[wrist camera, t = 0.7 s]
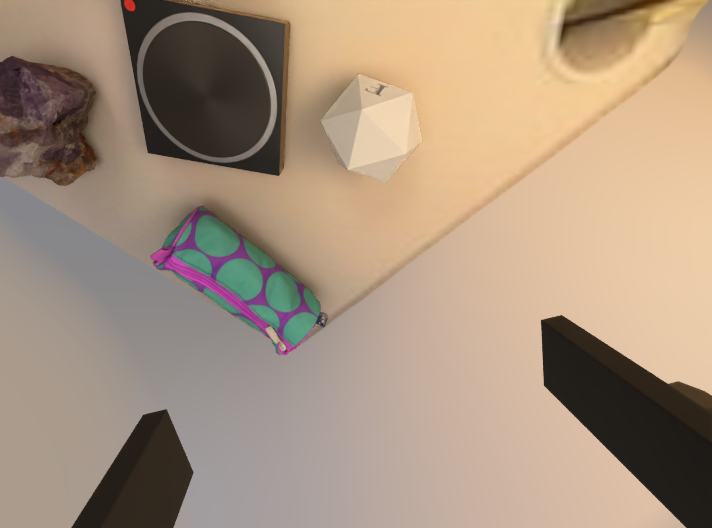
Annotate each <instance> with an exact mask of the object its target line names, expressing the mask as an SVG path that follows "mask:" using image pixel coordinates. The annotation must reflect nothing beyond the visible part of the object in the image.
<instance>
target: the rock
mask: <svg viewBox="0 0 712 528" xmlns="http://www.w3.org/2000/svg"><path fill="white" fill-rule="evenodd" d="M94 95H95V90H94V87H93V85H92V84H91V83H90V82H89V81H88V80H87V79H86V78H85V77H83V76H82V75H80V74H78V73H76V72H73V71H71V70H69V69H66V68H58V67H55V66H51V65H44V64H37V63H32V62H28V61H25V60H23V59H19V58H16V57H13V56H11V57H9V58H7V59H5V60H4V61H3V62H0V177H5V176H9V177H13V178H15V177H19V176H30V175H32V176H34V177H38V178H47V179H51V180H53V181H54V182H55V183H56V184H57V185H62V186H67V185H69V184H71V183H73V182H74V181H75V180H76V179H77V178H78V177H80V176H81V175H82V174H83V173H85V172H86V171H90V170H93V169H94V167H95V166H96V159H97V158H96V156H95V155H94V153H93V150H92V148H91V147H90V146H89V145H88V144H87V143H86V142H85V138H84V137H83V135H82V134H81V133H80V132H81V131H82V130H83V129H84V128H85V126H86V125H87V123H88V117H87V115H86V114H87V113H88V111H89V109H91V108H92V105H93V97H94Z"/></svg>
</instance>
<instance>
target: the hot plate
mask: <svg viewBox="0 0 712 528" xmlns="http://www.w3.org/2000/svg"><path fill="white" fill-rule="evenodd" d="M121 6H122V11H123V17H124V23H125V28H126V34H127V39H128V45H129V50H130V56H131V61H132V67H133V73H134V78H135V84H136V89H137V95H138V100H139V106H140V111H141V117H142V123H143V128H144V134H145V139H146V145H147V150H148V153H151V154H157V155H162V156H168V157H174V158H180V159H185V160H191V161H197V162H203V163H208V164H214V165H220V166H226V167H231V168H237V169H243V170H248V171H254V172H260V173H266V174H271V175H277V176H279V175H280V173H281V171H282V170H283V167H284V145H285V123H286V101H287V79H288V57H289V35H290V22H287V21H282V20H277V19H272V18H267V17H261V16H256V15H251V14H246V13H241V12H236V11H231V10H225V9H220V8H215V7H210V6H205V5H200V4H195V3H190V2H184V1H179V0H121Z"/></svg>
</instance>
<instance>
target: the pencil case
mask: <svg viewBox="0 0 712 528" xmlns="http://www.w3.org/2000/svg"><path fill="white" fill-rule="evenodd" d="M150 258H151V259H152V260H155V261H154V262H153V265H154V266H156V268H157V269H159V270H168V271H172V272H173V273H174V274H175V275H176V276H177V277H178V278H180V279H181V280H183V281H184V282H186V283H188V284H189V285H190V286H192V287H193V288H194V289H196V290H198V291H200V292H202V293H204V294H205V295H207V296H208V297H209V298H211V299H212V300H213V301H214V302H216V303H217V304H218V305H220V306H221V307H223V308H224V309H226V310H227V311H228V312H230V313H231V314H233V315H234V316H236V317H238V318H239V319H241V320H242V321H244V322H246V323H247V324H248V325H250V326H251V327H254V328H256V329H258V330H259V331H260V332H262V333H263V334H264V335H265V336H267V337H268V338H270V339H271V340H272V344H273V345H274V346H275V348H276V353H277V354H279V355H287V354H288V353H289V352H291V351H292V350H294V349H296V348H297V347H298V346H299V345H300V343H302V342H303V341H304V340H305V339H306V338H307V337H308V336H309V334H310V333H311V331H312V330H313V328H314V326H315V325H316V326H317V327H324V326H325V324H326V321H327V319H328V315H327V314H325V313H323V312H320V302H319V301H318V300H317V299H316V298H315V296H314V295H313V293H312V292H311V291H310V290H309V289H307V288H306V287H305V286H304V285H303V284H302V283H301V282H300V281H298V280H297V279H296V278H294V277H293V276H292V275H291V274H290V273H288V272H287V271H286V270H285V269H283V268H282V267H281V266H279V265H278V264H277V263H276V262H275V261H274V260H272V259H271V258H270V257H269V256H268V255H267V254H265V253H264V252H263V251H262V250H260V249H259V248H258V247H256V246H255V245H253V244H252V243H251V242H249V241H248V240H247V239H246V238H244V237H243V236H242V235H240V234H239V233H237V232H236V231H235V230H233V229H232V228H231V227H230V226H228V225H227V224H224V223H223V222H222V221H221V220H220V219H219V218H218V217H217V216H216V215H215V214H213V213H212V212H211V211H209V210H207V209H206V208H205V207H204V206H199V207H197V208H196V209H195V211H194V212H192V213H191V214H189V215H188V216H187V217H186V218H185V219H184V220H183V221H182V222H181V224H180V225H179V226H178V227H177V228H176V229H175V230H173V231H172V232H171V233H170V234H169V235H168V237H167V238H166V240H165V242H164V244H163V246H162V248H161V249H159V250H158V251H157V252H155V253H154V254H153V255H151V256H150ZM319 322H320V323H321V324H318V323H319Z"/></svg>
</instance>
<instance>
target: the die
mask: <svg viewBox="0 0 712 528" xmlns="http://www.w3.org/2000/svg"><path fill="white" fill-rule="evenodd" d="M320 122H321V124H322V126H323V128H324V130H325V133H326V135H327V137H328V139H329V142H330V144H331V146H332V148H333V151H334V153H335V155H336V157H337V159H338V162H339V164H341V165H342V166H344V167H345V168H346V169H348V170H351V171H354V172H357V173H360V174H363V175H366V176H368V177H371V178H374V179H377V180H380V181H383V182H387V181H388V179H389V178H390V177H391V176H392V175H393V174H394V172H395V171H396V170H397V169H398V168H399V167H400V166H401V164H402V163H403V162H404V161H405V160H406V159H407V157H408V156H409V155H410V154H411V153H412V152H413V151H414V149H415V148H416V147H417V146H418V145H419V144H420V142H421V141H422V137H421V132H420V127H419V121H418V116H417V111H416V106H415V100H414V95H413V92H410V91H408V90H405V89H402V88H399V87H396V86H393V85H390V84H387V83H384V82H381V81H379V80H376V79H373V78H370V77H367V76H364V75H361V74H358V75H357V76H356V77H355V78H354V80H353V81H352V82H351V83H350V85H349V86H348V87H347V88H346V89H345V91H344V92H343V93H342V94H341V96H340V97H339V98H338V99H337V101H336V102H335V103H334V104H333V106H332V107H331V108H330V109H329V111H328V112H327V113H326V114H325V116H324V117H323V118H322V119H321V121H320Z"/></svg>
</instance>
